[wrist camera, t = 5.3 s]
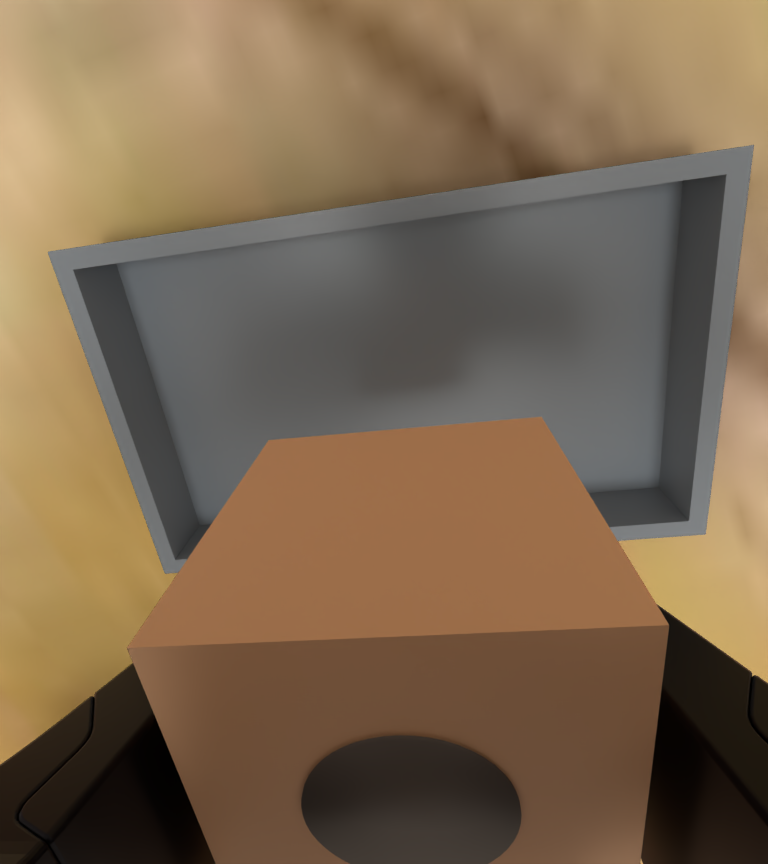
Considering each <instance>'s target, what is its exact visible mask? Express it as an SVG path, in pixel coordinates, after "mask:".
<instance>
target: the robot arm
mask: <svg viewBox="0 0 768 864" xmlns="http://www.w3.org/2000/svg"><path fill="white" fill-rule="evenodd" d="M657 606H658V608H659V609H660V611H661V612H662V614H663V616H664V617H665V619H666V621H667V622H668V624H669V632H668V640H667V648H666V656H665V664H664V673H663V681H662V689H661V697H660V705H659V714H658V722H657V730H656V738H655V746H654V755H653V763H652V771H651V779H650V787H649V796H648V804H647V812H646V820H645V828H644V837H643V845H642V853H641V859H642V862H643V864H768V683H767V682H765V681H764V680H763V679H761V678H760V677H758V676H756V675H754V676H753V677H752V672H751V671H750V670H748V669H747V668H745V667H744V666H743V665H741V664H740V663H738V662H737V661H736V660H734V659H733V658H731V657H730V656H729V655H727V654H726V653H724V652H723V651H722V650H720V649H719V648H717V647H716V646H715V645H713V644H712V643H710V642H709V641H708V640H706V639H705V638H703V637H702V636H701V635H699V634H698V633H696V632H695V631H694V630H692V629H691V628H689V627H688V626H687V625H685V624H684V623H682V622H681V621H680V620H678V619H677V618H675V617H674V616H673V615H671V614H670V613H668V612H667V611H666V610H664V609H663V608H661V607H660V606H659V605H657ZM0 864H216V863H215V861H214V858H213V856H212V854H211V851H210V849H209V846H208V844H207V841H206V839H205V837H204V834H203V832H202V829H201V827H200V824H199V822H198V820H197V817H196V815H195V812H194V810H193V807H192V805H191V803H190V800H189V798H188V795H187V793H186V790H185V788H184V786H183V783H182V781H181V778H180V776H179V773H178V771H177V768H176V766H175V764H174V761H173V759H172V756H171V754H170V751H169V749H168V747H167V744H166V742H165V739H164V737H163V734H162V732H161V730H160V727H159V725H158V722H157V720H156V717H155V715H154V713H153V710H152V708H151V705H150V703H149V700H148V698H147V696H146V693H145V691H144V688H143V686H142V683H141V681H140V679H139V676H138V674H137V671H136V669H135V666H134V664H133V663H132V664H131V665H130V666H128V667H127V668H126V669H125V670H123V671H122V672H121V673H120V674H118V675H117V676H116V677H115V678H113V679H112V680H111V681H110V682H108V683H107V684H106V685H104V686H103V687H102V688H101V689H99V690H98V691H97V692H96V693H95V696H94V697H93V696H91V697H89V698H88V699H87V700H85V701H84V702H83V703H82V704H80V705H79V706H78V707H77V708H75V709H74V710H73V711H72V712H70V713H69V714H68V715H66V716H65V717H64V718H63V719H61V720H60V721H59V722H57V723H56V724H55V725H53V726H52V727H51V728H50V729H48V730H47V731H46V732H44V733H43V734H42V735H40V736H39V737H38V738H37V739H35V740H34V741H33V742H31V743H30V744H28V745H27V746H26V747H24V748H23V749H21V750H20V751H19V752H17V753H16V754H15V755H13V756H12V757H10V758H9V759H8V760H6V761H5V762H4V763H2V764H1V765H0Z"/></svg>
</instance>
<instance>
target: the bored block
mask: <svg viewBox="0 0 768 864" xmlns="http://www.w3.org/2000/svg"><path fill="white" fill-rule="evenodd" d="M668 632H669V624H668V622H667V621H666V619H665V617H664V616H663V614H662V612H661V611H660V609H659V608H658V606H657V604H656V603H655V601H654V599H653V598H652V596H651V594H650V593H649V591H648V590H647V588H646V586H645V585H644V583H643V581H642V580H641V578H640V577H639V575H638V573H637V572H636V570H635V568H634V567H633V565H632V563H631V562H630V560H629V559H628V557H627V555H626V554H625V552H624V550H623V549H622V547H621V546H620V544H619V542H618V541H617V539H616V537H615V536H614V534H613V532H612V531H611V529H610V528H609V526H608V524H607V523H606V521H605V519H604V518H603V516H602V515H601V513H600V511H599V510H598V508H597V506H596V505H595V503H594V501H593V500H592V498H591V497H590V495H589V493H588V492H587V490H586V488H585V487H584V485H583V484H582V482H581V480H580V479H579V477H578V475H577V474H576V472H575V470H574V469H573V467H572V466H571V464H570V462H569V461H568V459H567V457H566V456H565V454H564V453H563V451H562V449H561V448H560V446H559V444H558V443H557V441H556V439H555V438H554V436H553V435H552V433H551V431H550V430H549V428H548V426H547V425H546V423H545V422H544V420H543V418H542V417H532V418H521V419H509V420H497V421H486V422H474V423H463V424H451V425H439V426H428V427H416V428H404V429H393V430H381V431H369V432H358V433H346V434H334V435H323V436H311V437H299V438H288V439H276V440H268V442H267V443H266V445H265V446H264V448H263V449H262V451H261V452H260V454H259V455H258V457H257V458H256V459H255V461H254V462H253V464H252V465H251V467H250V468H249V470H248V471H247V473H246V474H245V476H244V477H243V479H242V480H241V481H240V483H239V484H238V486H237V487H236V489H235V490H234V492H233V493H232V495H231V496H230V498H229V499H228V501H227V502H226V503H225V505H224V506H223V508H222V509H221V511H220V512H219V514H218V515H217V517H216V518H215V520H214V521H213V522H212V524H211V525H210V527H209V528H208V530H207V531H206V533H205V534H204V536H203V537H202V539H201V540H200V542H199V543H198V544H197V546H196V547H195V549H194V550H193V552H192V553H191V555H190V556H189V558H188V559H187V561H186V562H185V564H184V565H183V566H182V568H181V569H180V571H179V572H178V574H177V575H176V577H175V578H174V580H173V581H172V583H171V584H170V586H169V587H168V588H167V590H166V591H165V593H164V594H163V596H162V597H161V599H160V600H159V602H158V603H157V605H156V606H155V608H154V609H153V610H152V612H151V613H150V615H149V616H148V618H147V619H146V621H145V622H144V624H143V625H142V627H141V628H140V629H139V631H138V632H137V634H136V635H135V637H134V638H133V640H132V641H131V643H130V644H129V646H128V647H127V649H128V652H129V654H130V657H131V659H132V661H133V664H134V666H135V669H136V671H137V674H138V676H139V679H140V681H141V683H142V686H143V688H144V691H145V693H146V696H147V698H148V700H149V703H150V705H151V708H152V710H153V713H154V715H155V717H156V720H157V722H158V725H159V727H160V730H161V732H162V734H163V737H164V739H165V742H166V744H167V747H168V749H169V751H170V754H171V756H172V759H173V761H174V764H175V766H176V768H177V771H178V773H179V776H180V778H181V781H182V783H183V786H184V788H185V790H186V793H187V795H188V798H189V800H190V803H191V805H192V807H193V810H194V812H195V815H196V817H197V820H198V822H199V824H200V827H201V829H202V832H203V834H204V837H205V839H206V841H207V844H208V846H209V849H210V851H211V854H212V856H213V858H214V861H215V863H216V864H640V861H641V853H642V845H643V837H644V828H645V820H646V812H647V804H648V796H649V787H650V779H651V771H652V763H653V755H654V746H655V738H656V730H657V722H658V714H659V705H660V697H661V689H662V681H663V673H664V664H665V656H666V648H667V640H668Z"/></svg>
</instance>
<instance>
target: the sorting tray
mask: <svg viewBox="0 0 768 864" xmlns="http://www.w3.org/2000/svg"><path fill="white" fill-rule="evenodd" d="M753 149H754V145H751V146H744V147H737V148H731V149H724V150H717V151H711V152H704V153H698V154H691V155H684V156H678V157H671V158H665V159H658V160H651V161H645V162H638V163H632V164H625V165H618V166H612V167H605V168H598V169H592V170H585V171H579V172H572V173H565V174H559V175H552V176H546V177H539V178H532V179H526V180H519V181H513V182H506V183H499V184H493V185H486V186H479V187H473V188H466V189H460V190H453V191H446V192H440V193H433V194H427V195H420V196H413V197H407V198H400V199H394V200H387V201H380V202H374V203H367V204H360V205H354V206H347V207H341V208H334V209H327V210H321V211H314V212H308V213H301V214H294V215H288V216H281V217H275V218H268V219H261V220H255V221H248V222H241V223H235V224H228V225H222V226H215V227H208V228H202V229H195V230H189V231H182V232H175V233H169V234H162V235H156V236H149V237H142V238H136V239H129V240H122V241H116V242H109V243H103V244H96V245H89V246H83V247H76V248H70V249H63V250H56V251H50V252H48V254H49V257H50V260H51V263H52V265H53V268H54V271H55V274H56V276H57V279H58V282H59V285H60V287H61V290H62V293H63V296H64V298H65V301H66V304H67V307H68V309H69V312H70V315H71V317H72V320H73V323H74V326H75V328H76V331H77V334H78V337H79V339H80V342H81V345H82V348H83V350H84V353H85V356H86V359H87V361H88V364H89V367H90V370H91V372H92V375H93V378H94V381H95V383H96V386H97V389H98V391H99V394H100V397H101V400H102V402H103V405H104V408H105V411H106V413H107V416H108V419H109V422H110V424H111V427H112V430H113V433H114V435H115V438H116V441H117V444H118V446H119V449H120V452H121V455H122V457H123V460H124V463H125V465H126V468H127V471H128V474H129V476H130V479H131V482H132V485H133V487H134V490H135V493H136V496H137V498H138V501H139V504H140V507H141V509H142V512H143V515H144V518H145V520H146V523H147V526H148V528H149V531H150V534H151V537H152V539H153V542H154V545H155V548H156V550H157V553H158V556H159V559H160V561H161V564H162V567H163V570H164V572H165V574H167V573H178V572H179V571H180V569H181V568H182V566H183V565H184V564H185V562H186V561H187V559H188V558H189V556H190V555H191V553H192V552H193V550H194V549H195V547H196V546H197V544H198V543H199V542H200V540H201V539H202V537H203V536H204V534H205V533H206V531H207V530H208V528H209V527H210V525H211V524H212V522H213V521H214V520H215V518H216V517H217V515H218V514H219V512H220V511H221V509H222V508H223V506H224V505H225V503H226V502H227V501H228V499H229V498H230V496H231V495H232V493H233V492H234V490H235V489H236V487H237V486H238V484H239V483H240V481H241V480H242V479H243V477H244V476H245V474H246V473H247V471H248V470H249V468H250V467H251V465H252V464H253V462H254V461H255V459H256V458H257V457H258V455H259V454H260V452H261V451H262V449H263V448H264V446H265V445H266V443H267V442H268V440H276V439H288V438H299V437H311V436H323V435H334V434H346V433H358V432H369V431H381V430H393V429H404V428H416V427H428V426H439V425H451V424H463V423H474V422H486V421H497V420H509V419H521V418H532V417H542V418H543V420H544V422H545V423H546V425H547V426H548V428H549V430H550V431H551V433H552V435H553V436H554V438H555V439H556V441H557V443H558V444H559V446H560V448H561V449H562V451H563V453H564V454H565V456H566V457H567V459H568V461H569V462H570V464H571V466H572V467H573V469H574V470H575V472H576V474H577V475H578V477H579V479H580V480H581V482H582V484H583V485H584V487H585V488H586V490H587V492H588V493H589V495H590V497H591V498H592V500H593V501H594V503H595V505H596V506H597V508H598V510H599V511H600V513H601V515H602V516H603V518H604V519H605V521H606V523H607V524H608V526H609V528H610V529H611V531H612V532H613V534H614V536H615V537H616V539H617V541H621V540H635V539H649V538H663V537H677V536H690V535H704V534H706V527H707V519H708V511H709V503H710V495H711V487H712V479H713V471H714V463H715V455H716V447H717V439H718V431H719V423H720V415H721V406H722V398H723V390H724V382H725V374H726V366H727V358H728V350H729V342H730V334H731V326H732V318H733V310H734V302H735V294H736V286H737V278H738V270H739V262H740V254H741V246H742V237H743V229H744V221H745V213H746V205H747V197H748V189H749V181H750V173H751V165H752V157H753Z"/></svg>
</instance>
